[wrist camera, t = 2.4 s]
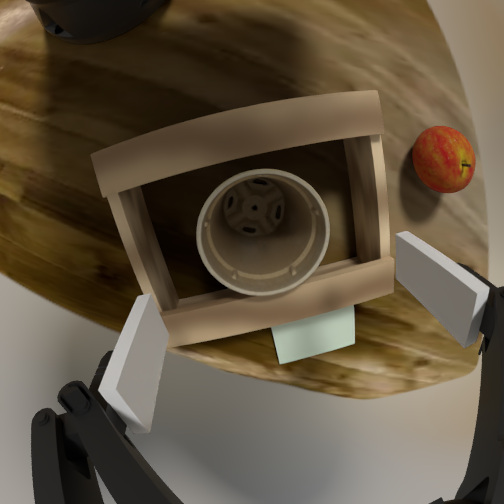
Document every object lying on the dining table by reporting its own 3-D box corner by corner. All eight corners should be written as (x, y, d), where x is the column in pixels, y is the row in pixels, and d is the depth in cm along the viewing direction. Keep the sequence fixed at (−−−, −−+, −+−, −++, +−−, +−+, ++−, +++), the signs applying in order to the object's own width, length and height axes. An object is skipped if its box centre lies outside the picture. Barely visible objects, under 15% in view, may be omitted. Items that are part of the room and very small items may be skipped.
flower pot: (216, 260, 30) (215, 307, 22) (193, 170, 27) (180, 186, 19) (306, 241, 30) (335, 280, 22) (292, 149, 27) (321, 157, 19)
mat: (263, 296, 32) (264, 300, 32) (349, 274, 32) (352, 277, 32) (278, 360, 36) (279, 364, 36) (352, 339, 36) (354, 343, 36)
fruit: (451, 138, 27) (499, 146, 20) (437, 192, 30) (482, 211, 22) (408, 114, 26) (456, 116, 19) (393, 174, 28) (439, 190, 21)
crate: (119, 148, 25) (90, 154, 19) (344, 97, 25) (377, 90, 19) (173, 308, 32) (164, 348, 26) (365, 262, 32) (393, 292, 26)
